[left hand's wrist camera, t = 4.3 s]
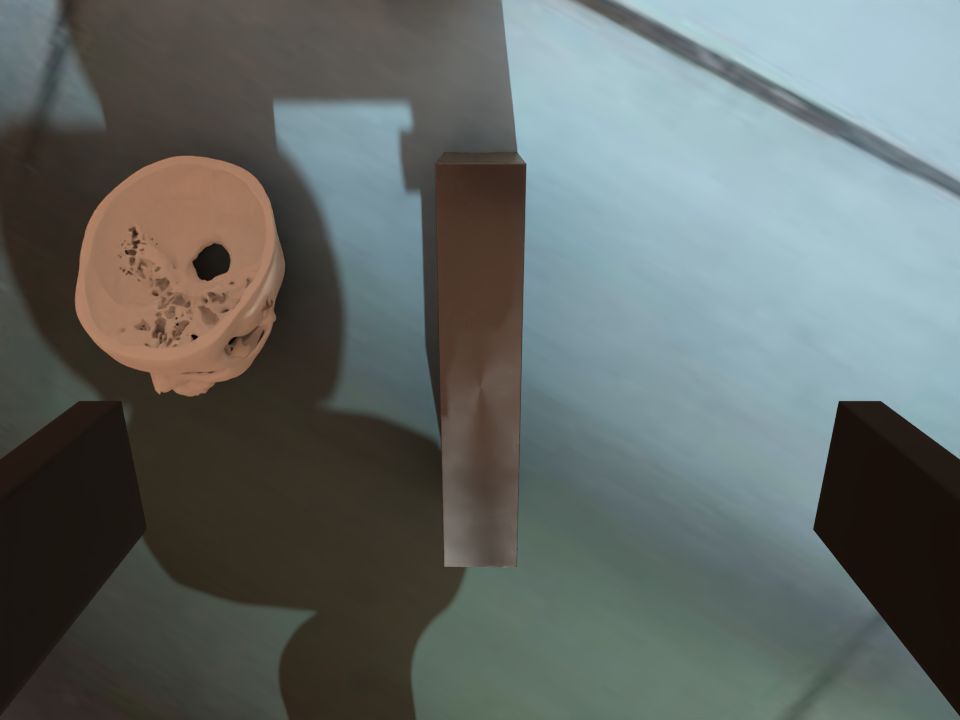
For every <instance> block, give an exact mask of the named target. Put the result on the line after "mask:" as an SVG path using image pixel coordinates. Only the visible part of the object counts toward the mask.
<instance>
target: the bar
mask: <svg viewBox="0 0 960 720" xmlns="http://www.w3.org/2000/svg"><path fill="white" fill-rule="evenodd" d="M435 175H436V222H437V269H438V316H439V364H440V411H441V458H442V505H443V552H444V567H517V538H518V495H519V453H520V410H521V368H522V325H523V283H524V240H525V198H526V163H525V162H524V160H523V159H522V158H521V156H520V155H519V154H518V153H517V152H444V153H443V155H442V156H441V157H440V158H439V160H438V161H437V162H436V164H435Z"/></svg>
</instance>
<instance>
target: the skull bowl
mask: <svg viewBox="0 0 960 720" xmlns="http://www.w3.org/2000/svg"><path fill="white" fill-rule="evenodd" d="M124 242H125V243H124ZM156 243H157V245H156ZM213 243H216V244H220V245H222V246H223V247H224V248H225V249H226V250H227V251H228V253H229V255H230V260H231V262H230V267H229V270H228V272H226V273H224V274H221V275H218V276H216V277H214V278H213V279H212V280H210V281H206V280H201V279H200V278H199V277H198V276H197V272H196V269H195V268H194V265H193V260H195V259H196V258H197V257H198V254H199V253H200V252H201V251H202V250H203V249H204V248H206V247H208V246H210V245H212V244H213ZM123 244H124V245H123ZM125 250H128V254H129V255H127V254H126V253H125ZM118 255H119V256H118ZM120 256H121V258H120ZM132 257H134V258H135V261H134V258H132ZM284 272H285V261H284V256H283V251H282V247H281V244H280V241H279V237H278V233H277V230H276V225H275V219H274V214H273V209H272V206H271V202H270V200H269V198H268V196H267V194H266V192H265V190H264V188H263V186H262V185H261V184H260V182H259V181H258V180H257V179H256V178H255V177H254V176H253V175H252V174H251V173H249V172H248V171H247V170H245V169H243V168H241V167H239V166H236V165H234V164H231V163H228V162H225V161H221V160H216V159H211V158H206V157H197V156H176V157H170V158H167V159H163V160H161V161H157V162H155V163H153V164H151V165H148V166H145V167H143V168H141V169H140V170H138V171H137V172H135V173H134V174H132V175H131V176H130V177H128V178H127V179H126V180H125V181H123V182H122V183H120V184H119V185H118V186H117V187H116V188H114V189H113V191H111V193H109V194H108V195H107V196H106V197H105V198H104V200H103V201H102V202H101V203H100V204H99V205H98V207H97V208H96V210H95V211H94V213H93V215H92V217H91V219H90V220H89V223H88V225H87V228H86V231H85V236H84V239H83V243H82V248H81V254H80V266H79V273H78V274H79V275H78V279H77V285H76V293H75V307H76V313H77V316H78V318H79V320H80V323H81V324H82V326H83V328H84V329H85V330H86V332H87V333H88V334H89V336H90V337H91V338H92V339H93V341H94V342H95V343H96V344H97V345H98V346H99V347H100V348H101V349H102V350H104V351H105V352H106V353H108V354H109V355H110V356H111V357H112V358H114V359H115V360H116V361H118V362H120V363H121V364H123V365H125V366H128V367H131V368H134V369H137V370H141V371H145V372H150V374H151V378H152V381H153V384H154V388H155V391H156V392H158V394H160V393H161V392H168V391H170V390H174V391H175V392H176V393H178V394H181V395H185V396H195V395H196V396H198V395H199V394H201V393H206V392H207V391H208V389H209V388H210V387H212V386H213V385H214V384H215V382H221V381H226V380H229V379H231V378H235V377H237V376H239V375H241V374H242V373H243V372H245V371H246V370H247V369H248V368H249V366H250V365H251V364H252V362H253V361H254V359H255V358H256V356H257V355H258V353H259V352H260V351H261V349H262V348H263V346H264V344H265V342H266V340H267V339H268V337H269V335H270V332H271V329H272V326H273V322H274V321H275V320H276V315H275V313H274V305H275V299H276V297H277V294H278V292H279V289H280V287H281V284H282V281H283V278H284ZM207 300H208V302H206V301H207ZM226 310H229V311H227V312H224V311H226ZM176 317H177V318H178V319H177V320H176ZM177 323H179V325H178V326H176V324H177ZM187 324H188V325H187ZM143 325H145V327H146V328H145V327H142V326H143ZM175 326H176V327H175ZM141 328H142V329H143V330H140V329H141ZM263 330H264V335H263V337H262V338H261V340H260V341H259V343H258V340H259V339H260V336H261V334H262V332H263ZM181 332H182V334H181ZM180 334H181V335H180ZM192 334H194V335H197V336H198V338H197V339H195V340H194V339H193V337H192V336H191V335H192ZM233 337H237V338H236V339H235V340H234V341H233V342H232V343H231V344H230V345H229V344H228V342H229V341H230V340H231V339H232V338H233ZM257 343H258V344H257Z"/></svg>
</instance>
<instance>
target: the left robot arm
mask: <svg viewBox="0 0 960 720" xmlns="http://www.w3.org/2000/svg"><path fill="white" fill-rule="evenodd" d="M146 530H147V528H146V523H145V518H144V513H143V508H142V503H141V498H140V493H139V488H138V483H137V478H136V473H135V468H134V463H133V458H132V453H131V448H130V443H129V438H128V433H127V428H126V423H125V418H124V413H123V408H122V403H121V401H79V402H77V403H76V404H75V405H73V406H72V407H71V408H69V409H68V410H67V411H65V412H64V413H63V414H61V415H60V416H58V417H57V418H56V419H54V420H53V421H52V422H50V423H49V424H48V425H46V426H45V427H44V428H42V429H41V430H40V431H38V432H37V433H35V434H34V435H33V436H31V437H30V438H29V439H27V440H26V441H25V442H23V443H22V444H21V445H19V446H18V447H17V448H15V449H14V450H12V451H11V452H10V453H8V454H7V455H6V456H4V457H3V458H2V459H0V716H1V714H2V713H3V712H4V711H5V709H6V708H7V707H8V705H9V704H10V703H11V702H12V700H13V699H14V698H15V697H16V695H17V694H18V693H19V691H20V690H21V689H22V688H23V686H24V685H25V684H26V683H27V681H28V680H29V679H30V677H31V676H32V675H33V674H34V672H35V671H36V670H37V669H38V667H39V666H40V665H41V663H42V662H43V661H44V660H45V658H46V657H47V656H48V655H49V653H50V652H51V651H52V649H53V648H54V647H55V646H56V644H57V643H58V642H59V641H60V639H61V638H62V637H63V635H64V634H65V633H66V632H67V630H68V629H69V628H70V627H71V625H72V624H73V623H74V621H75V620H76V619H77V618H78V616H79V615H80V614H81V613H82V611H83V610H84V609H85V607H86V606H87V605H88V604H89V602H90V601H91V600H92V599H93V597H94V596H95V595H96V593H97V592H98V591H99V590H100V588H101V587H102V586H103V584H104V583H105V582H106V581H107V579H108V578H109V577H110V576H111V574H112V573H113V572H114V570H115V569H116V568H117V567H118V565H119V564H120V563H121V562H122V560H123V559H124V558H125V556H126V555H127V554H128V553H129V551H130V550H131V549H132V548H133V546H134V545H135V544H136V542H137V541H138V540H139V539H140V537H141V536H142V535H143V534H144V532H145V531H146ZM813 530H814V531H815V532H816V534H817V535H818V536H819V537H820V539H821V540H822V541H823V542H824V544H825V545H826V546H827V548H828V549H829V550H830V551H831V553H832V554H833V555H834V556H835V558H836V559H837V560H838V562H839V563H840V564H841V565H842V567H843V568H844V569H845V570H846V572H847V573H848V574H849V576H850V577H851V578H852V579H853V581H854V582H855V583H856V584H857V586H858V587H859V588H860V590H861V591H862V592H863V593H864V595H865V596H866V597H867V599H868V600H869V601H870V602H871V604H872V605H873V606H874V607H875V609H876V610H877V611H878V613H879V614H880V615H881V616H882V618H883V619H884V620H885V621H886V623H887V624H888V625H889V627H890V628H891V629H892V630H893V632H894V633H895V634H896V635H897V637H898V638H899V639H900V641H901V642H902V643H903V644H904V646H905V647H906V648H907V649H908V651H909V652H910V653H911V655H912V656H913V657H914V658H915V660H916V661H917V662H918V663H919V665H920V666H921V667H922V669H923V670H924V671H925V672H926V674H927V675H928V676H929V677H930V679H931V680H932V681H933V683H934V684H935V685H936V686H937V688H938V689H939V690H940V691H941V693H942V694H943V695H944V697H945V698H946V699H947V700H948V702H949V703H950V704H951V705H952V707H953V708H954V709H955V711H956V712H957V713H958V714H959V716H960V459H958V458H957V457H956V456H954V455H953V454H952V453H950V452H949V451H948V450H946V449H945V448H943V447H942V446H941V445H939V444H938V443H937V442H935V441H934V440H933V439H931V438H930V437H929V436H927V435H926V434H925V433H923V432H922V431H920V430H919V429H918V428H916V427H915V426H914V425H912V424H911V423H910V422H908V421H907V420H906V419H904V418H903V417H902V416H900V415H899V414H897V413H896V412H895V411H893V410H892V409H891V408H889V407H888V406H887V405H885V404H884V403H883V402H881V401H839V403H838V408H837V413H836V418H835V423H834V428H833V433H832V438H831V443H830V448H829V453H828V458H827V463H826V468H825V473H824V478H823V483H822V488H821V493H820V498H819V503H818V508H817V513H816V518H815V523H814V528H813Z"/></svg>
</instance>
